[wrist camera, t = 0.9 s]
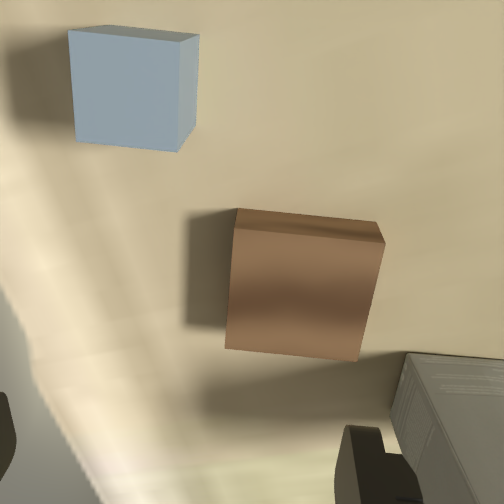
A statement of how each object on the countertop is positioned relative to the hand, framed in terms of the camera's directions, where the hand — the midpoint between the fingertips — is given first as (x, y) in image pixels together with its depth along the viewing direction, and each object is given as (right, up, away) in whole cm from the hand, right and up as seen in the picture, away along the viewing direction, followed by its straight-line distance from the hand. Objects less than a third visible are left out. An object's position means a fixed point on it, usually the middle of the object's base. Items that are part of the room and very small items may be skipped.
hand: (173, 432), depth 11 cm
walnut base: (+5, +3, +22) cm, 23 cm away
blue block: (-4, +14, +16) cm, 22 cm away
